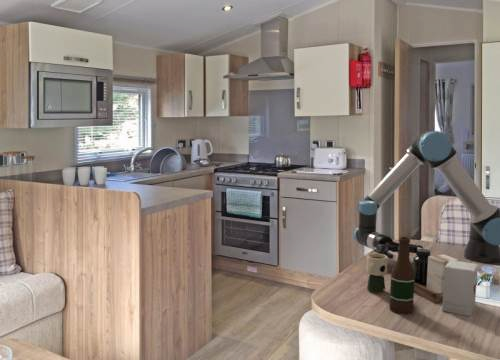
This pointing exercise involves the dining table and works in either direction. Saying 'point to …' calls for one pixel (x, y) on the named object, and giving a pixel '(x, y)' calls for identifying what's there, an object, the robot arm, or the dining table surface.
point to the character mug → (376, 271)
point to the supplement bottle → (421, 266)
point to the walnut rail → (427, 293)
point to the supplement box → (459, 287)
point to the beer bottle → (402, 280)
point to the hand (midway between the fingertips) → (414, 257)
